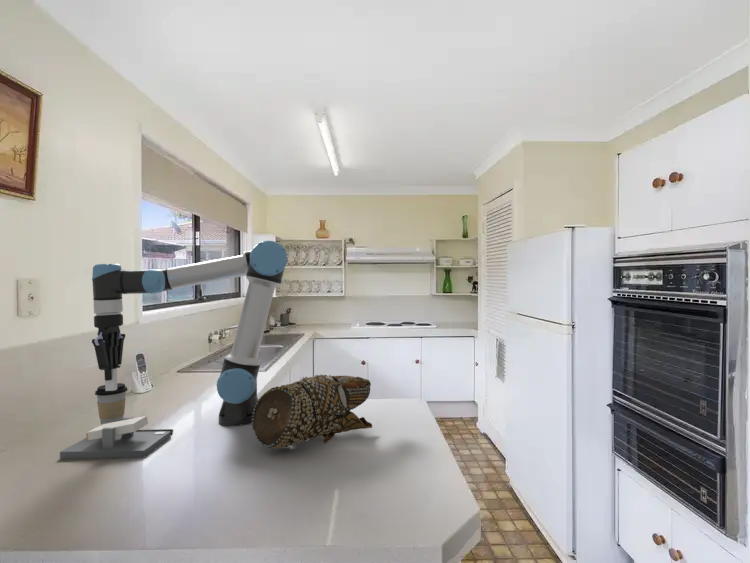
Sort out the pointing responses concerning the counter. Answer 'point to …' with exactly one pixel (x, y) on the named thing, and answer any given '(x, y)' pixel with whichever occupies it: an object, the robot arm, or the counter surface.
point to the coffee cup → (111, 403)
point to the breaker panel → (117, 445)
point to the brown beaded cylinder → (309, 410)
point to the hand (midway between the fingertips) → (111, 390)
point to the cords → (156, 430)
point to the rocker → (119, 427)
